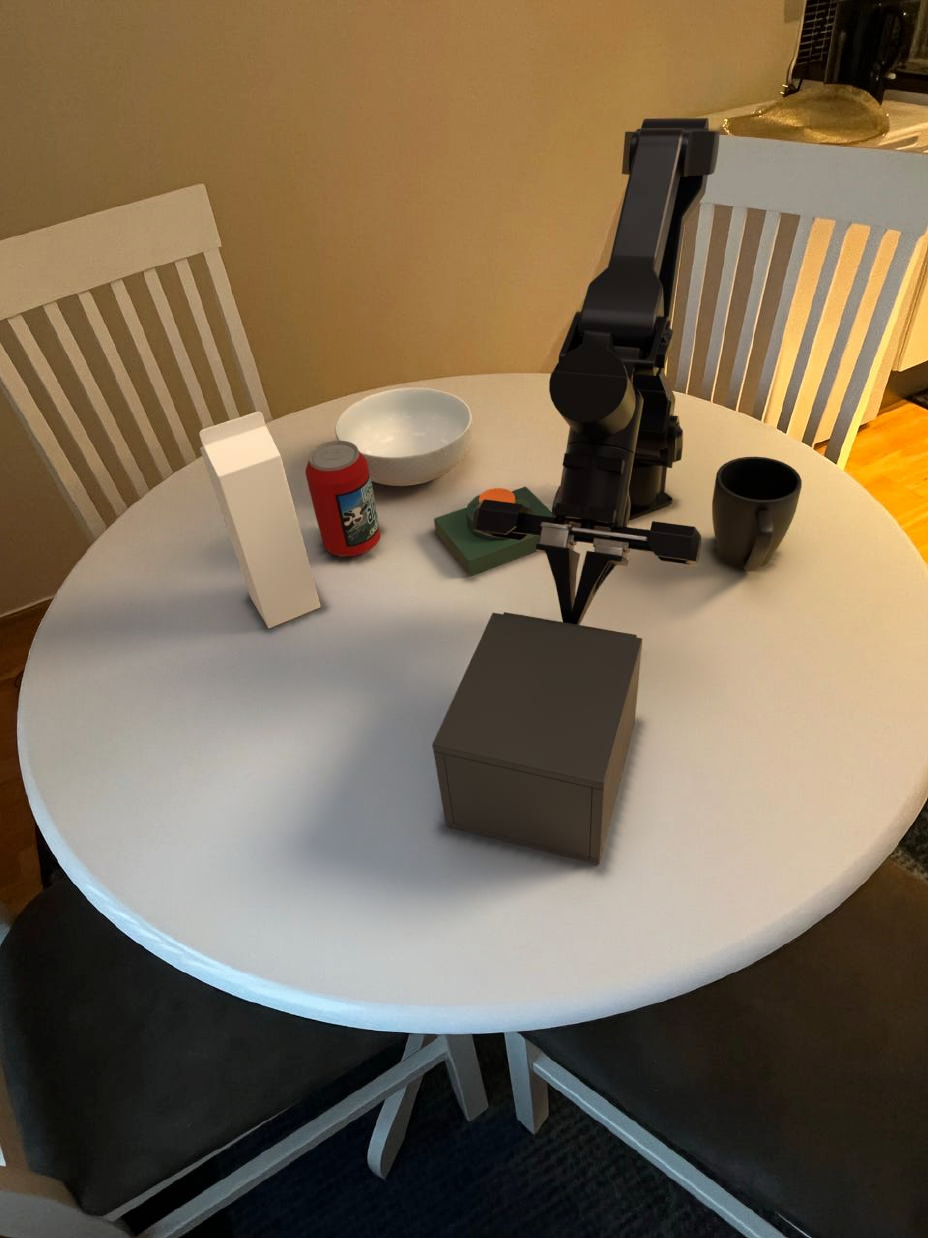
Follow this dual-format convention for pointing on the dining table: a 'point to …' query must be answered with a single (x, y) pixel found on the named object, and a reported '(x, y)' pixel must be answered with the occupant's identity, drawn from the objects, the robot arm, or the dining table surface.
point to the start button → (498, 495)
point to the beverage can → (343, 498)
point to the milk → (260, 517)
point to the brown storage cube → (540, 735)
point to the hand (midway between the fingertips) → (569, 633)
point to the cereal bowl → (408, 434)
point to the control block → (485, 536)
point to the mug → (753, 509)
